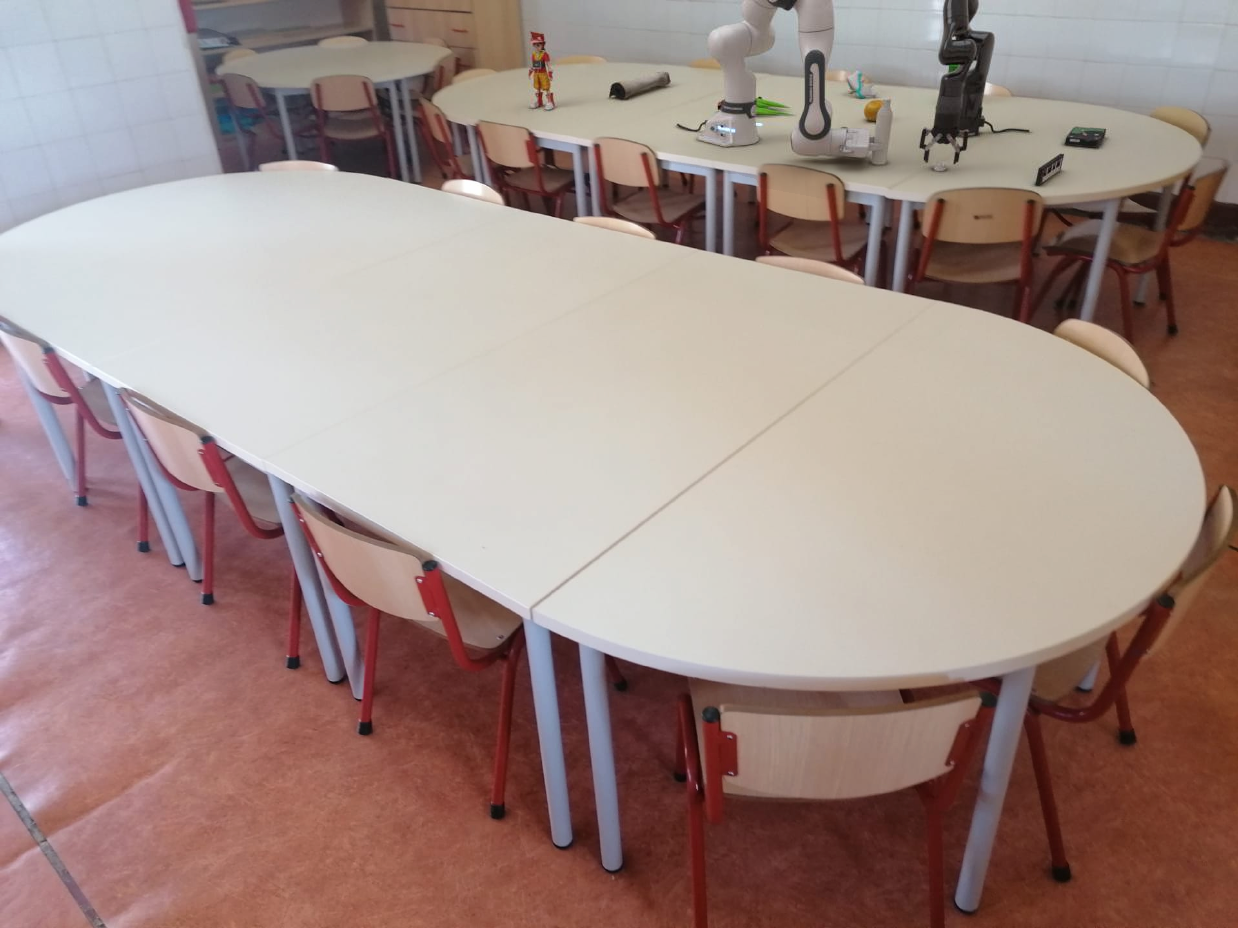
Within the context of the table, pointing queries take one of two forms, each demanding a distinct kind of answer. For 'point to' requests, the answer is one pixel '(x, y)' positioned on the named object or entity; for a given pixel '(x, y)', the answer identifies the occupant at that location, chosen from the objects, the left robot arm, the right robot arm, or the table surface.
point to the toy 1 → (541, 71)
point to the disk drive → (1085, 136)
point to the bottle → (882, 132)
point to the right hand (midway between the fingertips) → (940, 163)
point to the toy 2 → (765, 103)
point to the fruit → (872, 109)
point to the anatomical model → (860, 85)
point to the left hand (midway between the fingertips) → (883, 143)
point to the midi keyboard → (1049, 169)
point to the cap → (939, 166)
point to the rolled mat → (638, 84)
